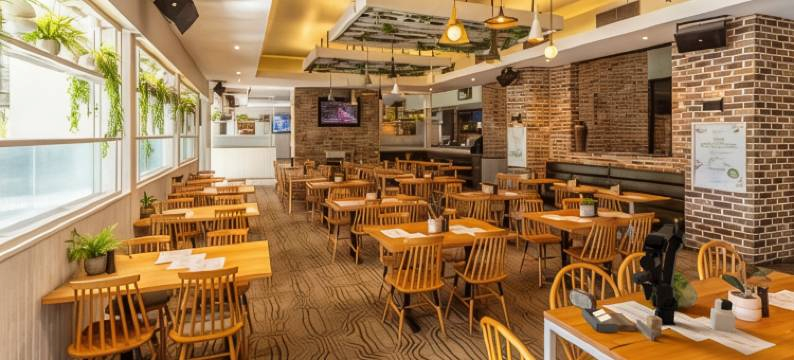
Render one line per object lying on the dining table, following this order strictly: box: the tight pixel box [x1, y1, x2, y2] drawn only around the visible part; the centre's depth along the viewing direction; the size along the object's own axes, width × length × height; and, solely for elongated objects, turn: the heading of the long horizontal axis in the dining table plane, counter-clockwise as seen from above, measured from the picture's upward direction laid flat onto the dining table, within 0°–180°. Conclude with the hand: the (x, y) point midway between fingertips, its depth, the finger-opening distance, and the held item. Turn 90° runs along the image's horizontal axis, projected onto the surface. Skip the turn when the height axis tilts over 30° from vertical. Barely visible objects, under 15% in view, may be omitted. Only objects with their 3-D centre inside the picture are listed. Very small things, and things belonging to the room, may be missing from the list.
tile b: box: [598, 314, 614, 323], centre depth 203 cm, size 4×4×2 cm
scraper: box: [635, 315, 663, 342], centre depth 195 cm, size 6×13×7 cm, turn 177°
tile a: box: [593, 308, 607, 322], centre depth 209 cm, size 4×4×2 cm
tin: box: [568, 287, 598, 310], centre depth 225 cm, size 15×3×8 cm, turn 23°
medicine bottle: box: [709, 298, 737, 333], centre depth 202 cm, size 7×7×12 cm
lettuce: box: [641, 270, 698, 309], centre depth 228 cm, size 19×23×18 cm
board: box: [606, 312, 637, 332], centre depth 206 cm, size 8×14×2 cm, turn 177°
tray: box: [581, 307, 617, 333], centre depth 206 cm, size 8×18×4 cm, turn 177°
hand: (652, 304), depth 194 cm, fingers open, 9 cm apart
